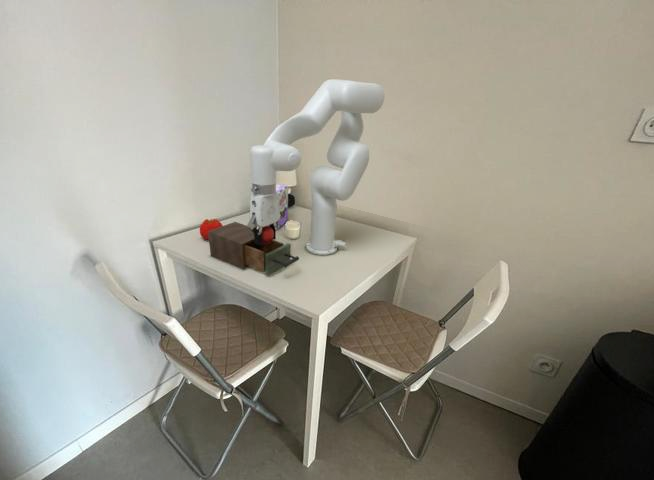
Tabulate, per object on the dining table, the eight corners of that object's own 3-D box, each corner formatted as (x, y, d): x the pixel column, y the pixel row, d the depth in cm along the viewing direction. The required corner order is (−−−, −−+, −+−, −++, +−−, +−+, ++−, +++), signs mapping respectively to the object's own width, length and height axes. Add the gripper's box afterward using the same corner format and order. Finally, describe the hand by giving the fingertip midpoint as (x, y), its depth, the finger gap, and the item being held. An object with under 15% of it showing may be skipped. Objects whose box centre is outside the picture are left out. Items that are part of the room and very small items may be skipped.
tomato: (219, 233, 147) (218, 216, 143) (227, 240, 141) (225, 223, 137) (197, 236, 142) (195, 219, 138) (204, 244, 136) (201, 226, 132)
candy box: (277, 230, 153) (277, 193, 144) (265, 228, 155) (264, 191, 146) (288, 220, 165) (288, 185, 156) (276, 218, 166) (276, 183, 157)
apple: (274, 239, 121) (274, 220, 117) (273, 246, 116) (272, 226, 112) (257, 238, 121) (256, 219, 117) (255, 245, 116) (254, 225, 112)
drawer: (303, 268, 122) (303, 248, 118) (281, 282, 114) (281, 260, 109) (258, 251, 132) (257, 232, 127) (235, 262, 123) (233, 242, 119)
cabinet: (268, 257, 130) (268, 232, 125) (243, 269, 121) (241, 244, 116) (236, 245, 138) (234, 221, 133) (210, 256, 128) (207, 231, 123)
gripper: (253, 196, 101) (256, 252, 110) (290, 185, 113) (289, 237, 123) (235, 191, 104) (239, 246, 114) (272, 181, 116) (273, 231, 126)
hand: (265, 241), depth 118 cm, fingers closed on apple, 6 cm apart
